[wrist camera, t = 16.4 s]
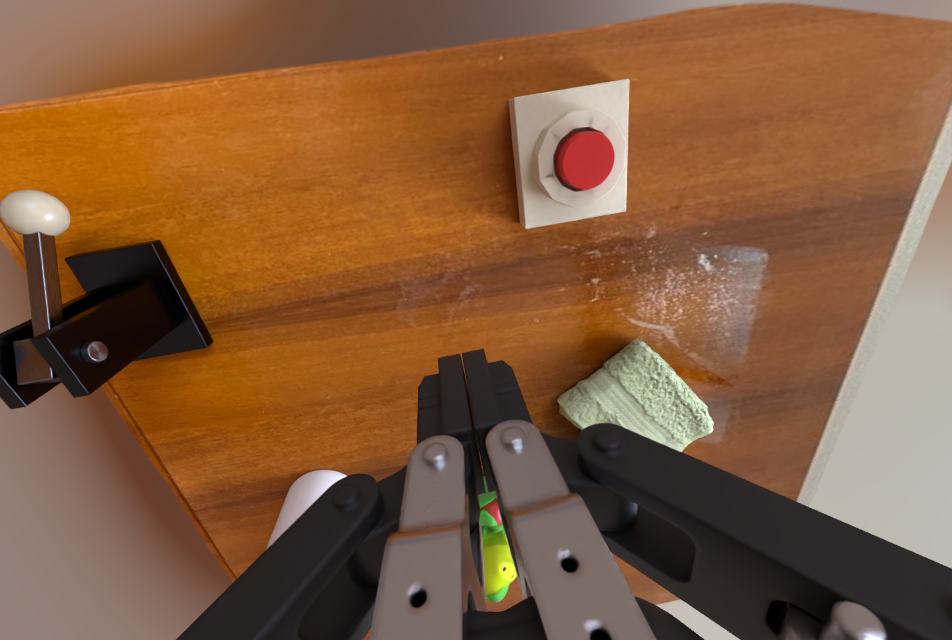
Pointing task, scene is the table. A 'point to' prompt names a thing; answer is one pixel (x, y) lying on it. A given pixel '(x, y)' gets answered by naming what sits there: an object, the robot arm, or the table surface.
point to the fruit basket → (494, 549)
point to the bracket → (109, 322)
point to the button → (585, 159)
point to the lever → (37, 272)
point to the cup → (303, 498)
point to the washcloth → (639, 399)
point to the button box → (539, 138)
